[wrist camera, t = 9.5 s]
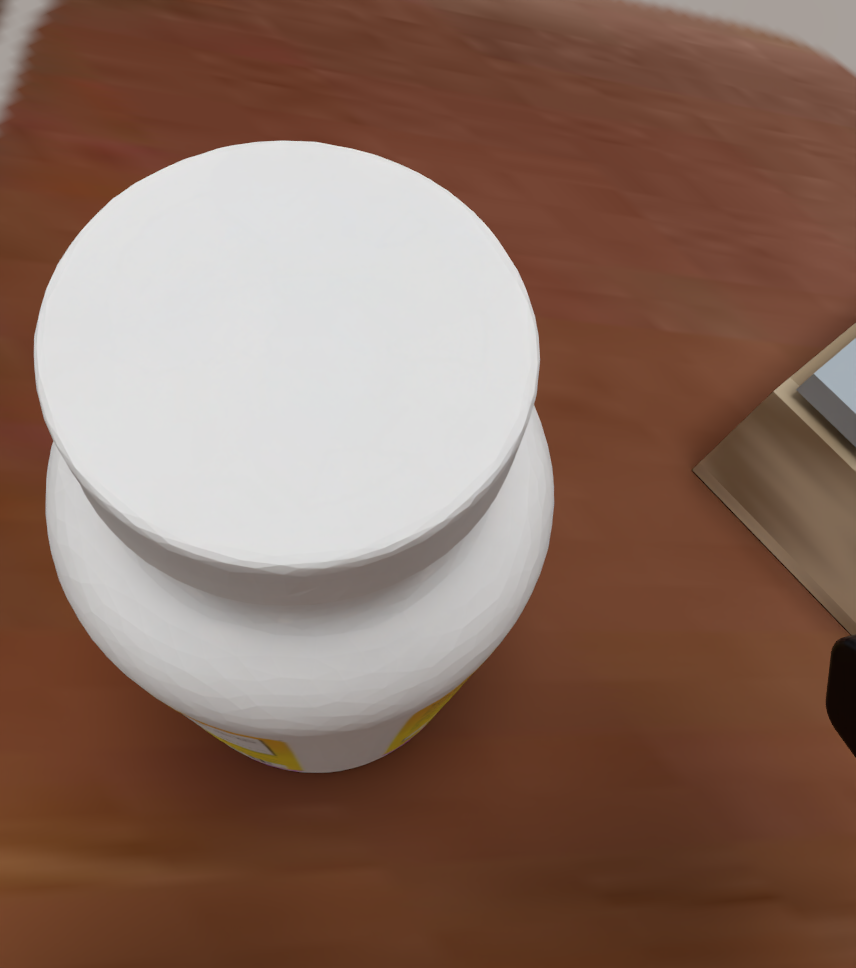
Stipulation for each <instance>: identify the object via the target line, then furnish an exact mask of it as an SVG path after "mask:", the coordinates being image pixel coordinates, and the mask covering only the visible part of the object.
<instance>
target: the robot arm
mask: <svg viewBox="0 0 856 968" xmlns="http://www.w3.org/2000/svg"><path fill="white" fill-rule="evenodd" d="M826 709H827V713H828V716H829V719H830V721H831V723H832V725H833V726H834V728H835V730H836V731H837V732H838V734H839V735H840V737H841V738H842V739H843V741H844V742H845V744H846V745H847V746H848V748H849V749H850V750H851V752H852V753H853V755H854V756H855V757H856V634H855V635H851V636H847V637H843V638H841V639H839V640H838V641H836V643H835V644H834V646H833V648H832V651H831V658H830V667H829V676H828V684H827V693H826Z"/></svg>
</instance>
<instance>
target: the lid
mask: <svg viewBox="0 0 856 968" xmlns="http://www.w3.org/2000/svg"><path fill="white" fill-rule="evenodd" d="M796 390H797V391H798V392H799V393H800V394H801V395H802V396H803V397H804V398H805V399H806V400H807V401H808V402H809V403H810V404H811V405H812V406H813V407H815V408H816V409H817V410H818V411H819V412H820V413H821V414H822V415H823V416H824V417H825V418H826V419H827V420H828V421H829V422H830V423H831V424H832V425H833V426H834V427H835V428H836V429H837V430H838V431H839V432H840V433H841V434H843V435H844V436H845V437H846V438H847V439H848V440H849V441H850V442H851V443H852V444H853V445H854V446H855V447H856V338H855V339H854V340H853V341H852V342H850V343H849V344H848V345H847V346H846V347H845V348H843V349H842V350H841V351H840V352H839V353H837V354H836V355H835V356H834V357H833V358H831V359H830V360H829V361H828V362H827V363H826V364H824V365H823V366H822V367H821V368H820V369H818V370H817V371H816V372H815V373H814V374H813V375H812V376H810V377H809V378H808V379H807V380H806V381H805V382H804V383H803V384H802V385H801V386H800V387H798V388H797V389H796Z"/></svg>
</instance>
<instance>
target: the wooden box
mask: <svg viewBox="0 0 856 968" xmlns="http://www.w3.org/2000/svg"><path fill="white" fill-rule="evenodd" d="M855 338H856V323H855V324H854V325H852V326H851V327H850V328H849V329H848V330H846V331H845V332H844V333H843V334H842V335H840V336H839V337H838V338H837V339H836V340H834V341H833V342H832V343H831V344H830V345H828V346H827V347H826V348H825V349H824V350H822V351H821V352H820V353H819V354H818V355H816V356H815V357H814V358H813V359H812V360H810V361H809V362H808V363H807V364H806V365H804V366H803V367H802V368H801V369H800V370H798V371H797V372H796V373H795V374H794V375H792V376H791V377H790V378H789V379H788V380H786V381H785V382H784V383H783V384H782V385H780V386H779V387H778V388H777V389H776V390H774V391H773V392H772V393H771V394H770V395H769V396H768V397H767V398H766V399H765V400H764V401H763V402H762V403H761V404H760V405H759V406H758V407H757V408H756V409H755V410H753V411H752V412H751V413H750V414H749V415H748V416H747V417H746V418H745V419H744V420H743V421H742V422H741V423H740V424H739V425H738V426H737V427H736V428H735V429H734V430H733V431H732V432H731V433H730V434H729V435H728V436H727V437H725V438H724V439H723V440H722V441H721V442H720V443H719V444H718V445H717V446H716V447H715V448H714V449H713V450H712V451H711V452H710V453H709V454H708V455H707V456H706V457H705V458H704V459H703V460H702V461H701V462H700V463H699V464H697V465H696V466H695V467H694V468H693V469H692V470H693V471H694V472H695V474H696V475H697V476H698V477H699V478H700V479H701V480H702V481H703V482H704V483H705V484H706V485H707V486H708V487H709V488H710V489H711V490H712V491H713V492H714V493H715V494H716V495H717V496H718V497H719V498H720V499H721V500H722V501H723V502H724V504H725V505H726V506H727V507H728V508H729V509H730V510H731V511H732V512H733V513H734V514H735V515H736V516H737V517H738V518H739V519H740V520H741V521H742V522H743V523H744V524H745V525H746V526H747V527H748V528H749V529H750V530H751V531H752V533H753V534H754V535H755V536H756V537H757V538H758V539H759V540H760V541H761V542H762V543H763V544H764V545H765V546H766V547H767V548H768V549H769V550H770V551H771V552H772V553H773V554H774V555H775V556H776V557H777V558H778V559H779V560H780V561H781V563H782V564H783V565H784V566H785V567H786V568H787V569H788V570H789V571H790V572H791V573H792V574H793V575H794V576H795V577H796V578H797V579H798V580H799V581H800V582H801V583H802V584H803V585H804V586H805V587H806V588H807V589H808V590H809V591H810V593H811V594H812V595H813V596H814V597H815V598H816V599H817V600H818V601H819V602H820V603H821V604H822V605H823V606H824V607H825V608H826V609H827V610H828V611H829V612H830V613H831V614H832V615H833V616H834V617H835V618H836V619H837V620H838V621H839V623H840V624H841V625H842V626H843V627H844V628H845V629H846V630H847V631H848V632H849V633H850V634H851V635H855V634H856V447H855V446H854V445H853V444H852V443H851V442H850V441H849V440H848V439H847V438H846V437H845V436H844V435H843V434H841V433H840V432H839V431H838V430H837V429H836V428H835V427H834V426H833V425H832V424H831V423H830V422H829V421H828V420H827V419H826V418H825V417H824V416H823V415H822V414H821V413H820V412H819V411H818V410H817V409H816V408H815V407H813V406H812V405H811V404H810V403H809V402H808V401H807V400H806V399H805V398H804V397H803V396H802V395H801V394H800V393H799V392H798V391H797V390H796V389H797V388H798V387H800V386H801V385H802V384H803V383H804V382H805V381H806V380H807V379H808V378H809V377H810V376H812V375H813V374H814V373H815V372H816V371H817V370H818V369H820V368H821V367H822V366H823V365H824V364H826V363H827V362H828V361H829V360H830V359H831V358H833V357H834V356H835V355H836V354H837V353H839V352H840V351H841V350H842V349H843V348H845V347H846V346H847V345H848V344H849V343H850V342H852V341H853V340H854V339H855Z"/></svg>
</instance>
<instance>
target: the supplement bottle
mask: <svg viewBox="0 0 856 968" xmlns="http://www.w3.org/2000/svg"><path fill="white" fill-rule="evenodd" d="M539 365H540V353H539V337H538V331H537V326H536V320H535V315H534V312H533V309H532V306H531V303H530V300H529V297H528V294H527V291H526V288H525V286H524V284H523V281H522V279H521V277H520V275H519V272H518V270H517V269H516V267H515V266H514V264H513V262H512V261H511V259H510V258H509V256H508V255H507V253H506V252H505V250H504V248H503V247H502V245H501V244H500V242H499V241H498V239H497V238H496V237H495V235H494V234H493V233H492V232H491V230H490V229H489V228H488V227H487V226H486V225H485V224H484V223H483V221H482V220H481V219H480V218H479V217H478V216H477V215H476V214H475V213H474V212H473V211H472V210H471V209H469V208H468V207H467V206H466V205H465V204H463V203H462V202H461V201H460V200H459V199H457V198H456V197H455V196H454V195H452V194H451V193H450V192H449V191H447V190H446V189H444V188H442V187H441V186H439V185H437V184H436V183H435V182H433V181H432V180H430V179H428V178H426V177H425V176H423V175H421V174H419V173H418V172H415V171H413V170H411V169H409V168H407V167H405V166H402V165H400V164H398V163H395V162H393V161H390V160H387V159H385V158H382V157H380V156H377V155H374V154H370V153H366V152H362V151H358V150H355V149H350V148H345V147H340V146H334V145H329V144H324V143H318V142H303V141H268V142H253V143H247V144H240V145H233V146H228V147H223V148H218V149H215V150H212V151H209V152H206V153H203V154H200V155H197V156H194V157H190V158H187V159H184V160H182V161H180V162H177V163H175V164H173V165H170V166H168V167H166V168H164V169H162V170H160V171H158V172H156V173H154V174H152V175H150V176H148V177H146V178H144V179H142V180H140V181H139V182H137V183H135V184H133V185H132V186H131V187H129V188H128V189H126V190H125V191H123V192H122V193H121V194H119V195H118V196H116V197H115V198H114V199H112V200H111V201H110V202H109V203H108V204H107V205H106V206H105V207H104V208H103V209H102V210H101V211H100V212H98V213H97V214H96V215H95V216H94V217H93V218H92V220H91V221H90V222H89V223H88V224H87V225H86V226H85V227H84V228H83V229H82V231H81V232H80V233H79V234H78V236H77V237H76V238H75V240H74V241H73V242H72V243H71V245H70V246H69V248H68V249H67V251H66V252H65V254H64V255H63V257H62V258H61V260H60V262H59V263H58V265H57V267H56V269H55V271H54V274H53V276H52V278H51V280H50V282H49V284H48V287H47V289H46V292H45V295H44V299H43V302H42V305H41V309H40V313H39V318H38V322H37V327H36V331H35V335H34V366H35V377H36V387H37V392H38V396H39V400H40V404H41V408H42V412H43V416H44V420H45V422H46V425H47V427H48V429H49V432H50V434H51V436H52V438H53V444H52V447H51V453H50V458H49V464H48V471H47V479H46V520H47V529H48V537H49V543H50V548H51V554H52V557H53V560H54V564H55V567H56V570H57V574H58V577H59V580H60V583H61V585H62V588H63V590H64V592H65V595H66V597H67V599H68V601H69V602H70V604H71V606H72V608H73V610H74V611H75V613H76V615H77V617H78V619H79V620H80V622H81V623H82V625H83V626H84V628H85V629H86V631H87V632H88V634H89V635H90V637H91V638H92V640H93V641H94V642H95V643H96V644H97V645H98V647H99V648H100V649H101V650H102V651H103V652H104V654H105V655H106V656H107V657H108V658H109V659H110V660H111V661H112V662H113V663H114V664H115V665H116V666H117V667H118V668H119V669H120V670H121V671H122V672H123V673H124V674H125V675H127V676H128V677H129V678H130V679H132V680H133V681H134V682H135V683H137V684H138V685H139V686H141V687H142V688H143V689H145V690H146V691H147V692H148V693H150V694H151V695H152V696H154V697H155V698H157V699H158V700H160V701H162V702H163V703H165V704H166V705H168V706H169V707H171V708H172V709H174V710H176V711H177V712H179V713H181V714H183V715H184V716H186V717H187V718H189V719H190V720H192V721H193V722H195V723H196V724H197V725H199V726H200V727H202V728H203V729H204V730H206V731H207V732H209V733H210V734H211V735H213V736H214V737H216V738H217V739H219V740H220V741H222V742H224V743H225V744H227V745H228V746H229V747H231V748H233V749H234V750H236V751H238V752H240V753H242V754H244V755H246V756H248V757H249V758H251V759H253V760H256V761H258V762H261V763H264V764H266V765H269V766H273V767H276V768H280V769H284V770H289V771H296V772H306V773H326V772H336V771H342V770H347V769H351V768H355V767H359V766H362V765H365V764H368V763H370V762H372V761H375V760H377V759H380V758H382V757H383V756H385V755H387V754H389V753H391V752H393V751H394V750H396V749H397V748H399V747H400V746H402V745H403V744H405V743H406V742H408V741H409V740H410V739H411V738H413V737H414V736H415V735H416V734H417V733H418V732H419V731H421V730H422V729H423V728H424V727H425V726H426V725H427V724H428V723H429V722H430V720H431V719H432V718H433V717H434V716H435V715H436V714H437V713H438V712H439V710H440V709H441V708H442V707H443V706H444V705H445V704H446V703H447V702H448V701H449V700H450V699H451V698H452V696H453V695H454V694H455V693H456V692H457V691H458V690H459V689H460V687H461V686H462V685H463V684H464V683H465V682H466V681H467V680H468V679H469V677H470V676H471V675H472V674H473V673H474V672H475V671H476V670H477V669H478V668H479V667H480V666H481V665H482V664H483V663H484V662H485V661H486V659H487V658H488V657H489V656H490V655H491V654H492V653H493V652H494V651H495V649H496V648H497V647H498V645H499V644H500V643H501V642H502V640H503V639H504V638H505V636H506V635H507V634H508V632H509V631H510V629H511V628H512V627H513V625H514V624H515V623H516V621H517V619H518V618H519V616H520V614H521V613H522V611H523V609H524V607H525V605H526V603H527V601H528V600H529V598H530V596H531V594H532V591H533V589H534V587H535V584H536V582H537V580H538V578H539V575H540V573H541V570H542V566H543V563H544V560H545V557H546V553H547V550H548V546H549V540H550V534H551V528H552V519H553V509H554V484H553V472H552V465H551V459H550V454H549V450H548V445H547V441H546V438H545V435H544V432H543V428H542V425H541V422H540V419H539V416H538V414H537V411H536V409H535V407H534V402H535V398H536V394H537V384H538V374H539Z"/></svg>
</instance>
